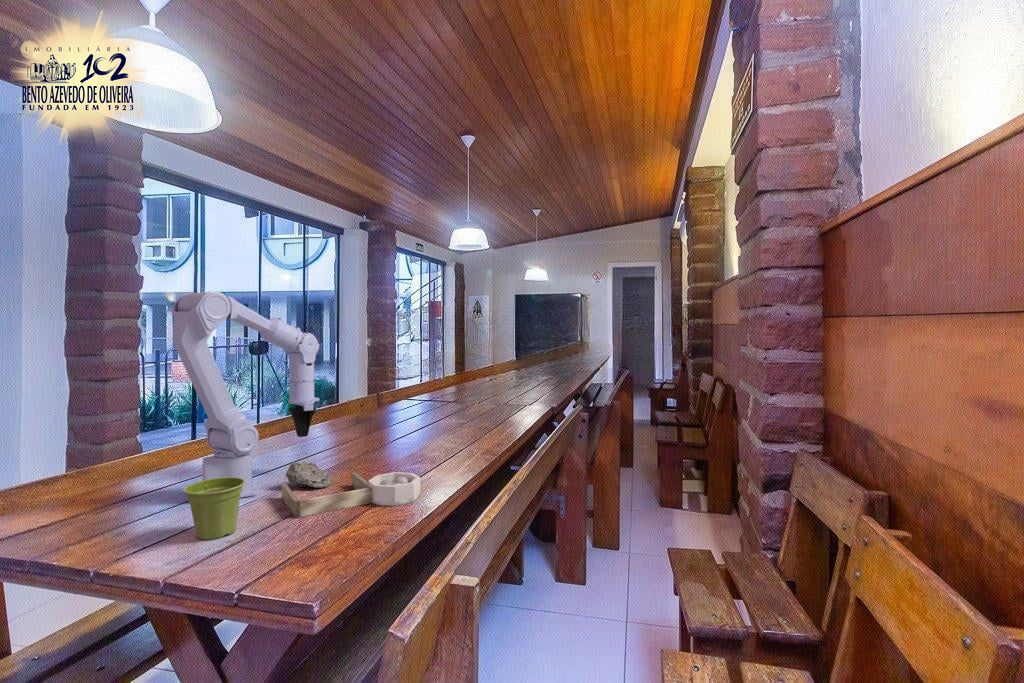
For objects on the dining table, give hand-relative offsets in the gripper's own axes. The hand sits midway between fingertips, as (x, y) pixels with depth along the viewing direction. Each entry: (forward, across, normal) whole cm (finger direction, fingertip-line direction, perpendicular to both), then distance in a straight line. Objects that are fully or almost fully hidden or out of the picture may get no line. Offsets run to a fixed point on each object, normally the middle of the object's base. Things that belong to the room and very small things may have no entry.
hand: (302, 436), depth 127 cm
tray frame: (+9, -23, 0) cm, 25 cm away
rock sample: (+10, -11, 0) cm, 15 cm away
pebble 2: (+7, -33, -12) cm, 35 cm away
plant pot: (+10, -30, +21) cm, 38 cm away
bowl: (+9, -30, -12) cm, 34 cm away
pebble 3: (+7, -29, -14) cm, 33 cm away
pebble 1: (+7, -29, -10) cm, 32 cm away
